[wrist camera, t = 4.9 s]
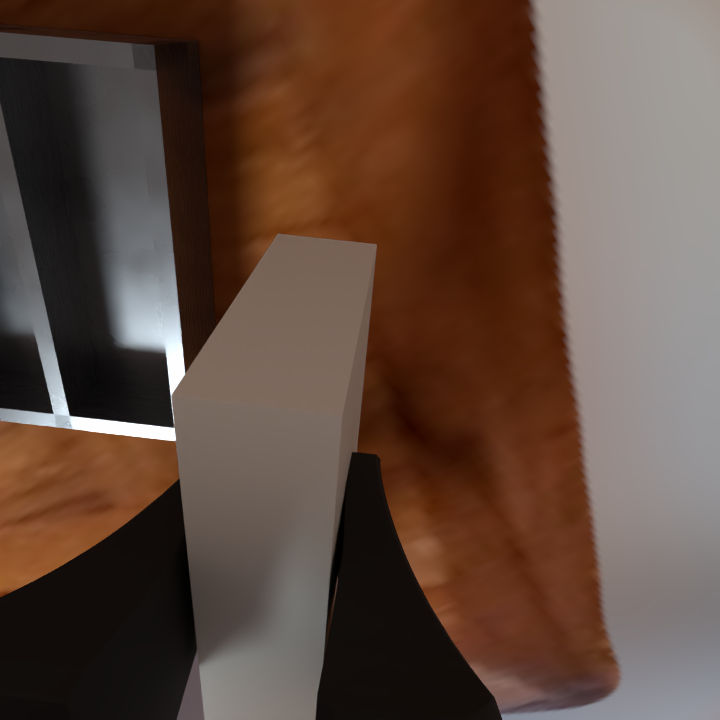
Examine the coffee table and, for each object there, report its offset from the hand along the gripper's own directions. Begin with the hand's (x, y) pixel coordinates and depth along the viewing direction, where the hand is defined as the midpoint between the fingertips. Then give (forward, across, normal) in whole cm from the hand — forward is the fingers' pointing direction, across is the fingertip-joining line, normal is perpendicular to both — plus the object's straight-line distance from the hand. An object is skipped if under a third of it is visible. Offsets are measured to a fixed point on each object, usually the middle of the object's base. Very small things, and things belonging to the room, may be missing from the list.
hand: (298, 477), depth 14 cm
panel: (+3, 0, 0) cm, 3 cm away
